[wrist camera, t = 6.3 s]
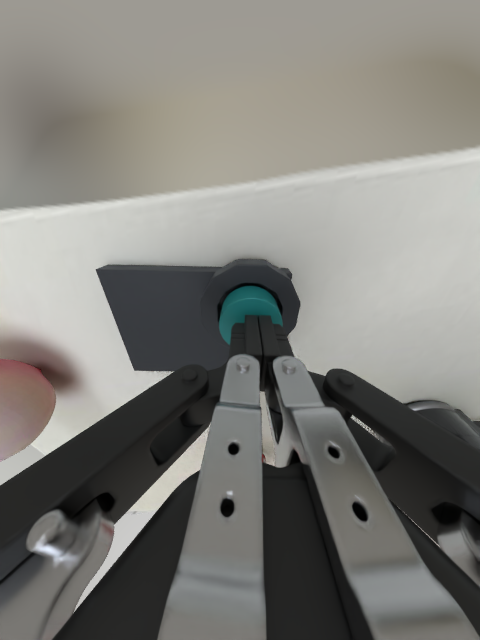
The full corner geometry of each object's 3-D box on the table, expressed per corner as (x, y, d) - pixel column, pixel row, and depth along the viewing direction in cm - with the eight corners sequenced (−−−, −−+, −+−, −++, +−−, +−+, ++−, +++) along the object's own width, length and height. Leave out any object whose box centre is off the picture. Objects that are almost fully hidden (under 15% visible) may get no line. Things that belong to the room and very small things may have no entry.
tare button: (280, 286, 12) (287, 298, 10) (273, 334, 14) (278, 352, 13) (220, 284, 12) (217, 297, 10) (222, 333, 14) (220, 351, 12)
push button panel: (296, 255, 14) (308, 266, 11) (277, 363, 19) (283, 386, 17) (103, 251, 14) (71, 261, 11) (140, 360, 19) (125, 383, 17)
